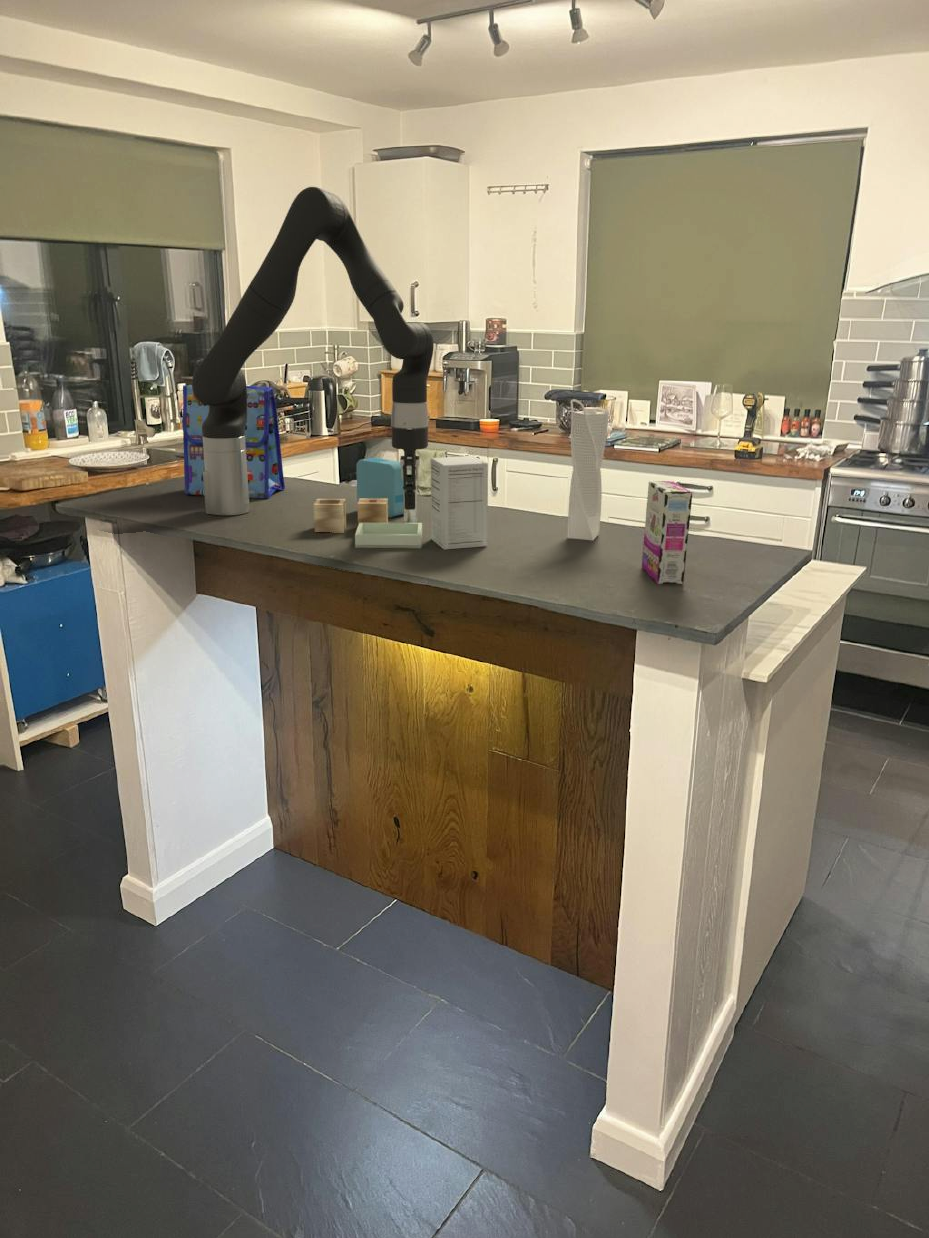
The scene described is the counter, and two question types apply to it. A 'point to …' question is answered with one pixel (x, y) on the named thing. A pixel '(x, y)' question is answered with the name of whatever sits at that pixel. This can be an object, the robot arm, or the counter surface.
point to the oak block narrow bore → (373, 510)
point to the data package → (381, 483)
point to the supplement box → (459, 502)
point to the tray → (388, 535)
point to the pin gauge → (411, 515)
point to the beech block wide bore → (330, 515)
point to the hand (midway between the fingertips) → (410, 507)
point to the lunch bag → (258, 441)
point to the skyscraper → (586, 471)
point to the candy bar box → (666, 532)
